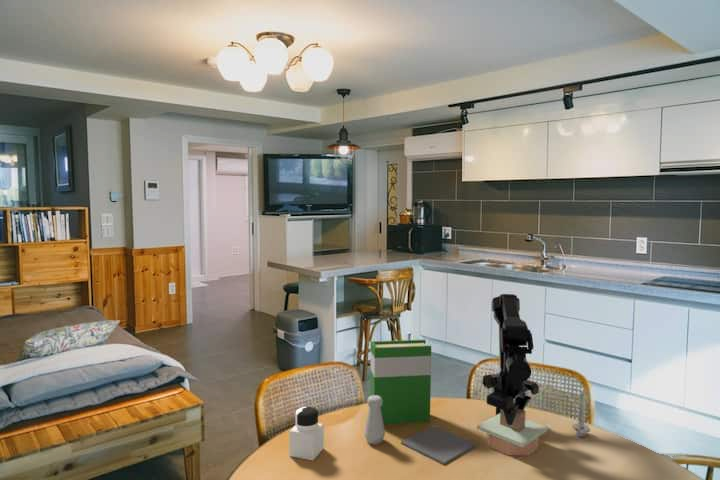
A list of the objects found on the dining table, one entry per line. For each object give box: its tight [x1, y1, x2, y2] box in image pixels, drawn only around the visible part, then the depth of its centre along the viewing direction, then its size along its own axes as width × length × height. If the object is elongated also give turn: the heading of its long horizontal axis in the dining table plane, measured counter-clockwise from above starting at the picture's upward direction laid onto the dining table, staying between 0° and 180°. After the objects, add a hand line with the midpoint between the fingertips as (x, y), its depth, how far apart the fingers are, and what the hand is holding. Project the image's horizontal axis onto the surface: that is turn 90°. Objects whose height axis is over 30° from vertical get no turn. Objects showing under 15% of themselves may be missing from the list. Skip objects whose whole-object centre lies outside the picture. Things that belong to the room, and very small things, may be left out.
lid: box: [476, 409, 549, 447], centre depth 137 cm, size 14×14×6 cm
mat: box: [400, 425, 478, 466], centre depth 136 cm, size 15×15×1 cm
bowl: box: [486, 433, 540, 456], centre depth 137 cm, size 13×13×4 cm
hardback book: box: [369, 339, 432, 426], centre depth 152 cm, size 18×7×24 cm, turn 98°
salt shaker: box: [363, 395, 386, 446], centre depth 137 cm, size 6×6×13 cm
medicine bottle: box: [288, 406, 325, 462], centre depth 131 cm, size 7×7×12 cm
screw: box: [571, 391, 591, 438], centre depth 142 cm, size 13×5×5 cm
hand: (512, 422), depth 137 cm, fingers closed on lid, 3 cm apart
